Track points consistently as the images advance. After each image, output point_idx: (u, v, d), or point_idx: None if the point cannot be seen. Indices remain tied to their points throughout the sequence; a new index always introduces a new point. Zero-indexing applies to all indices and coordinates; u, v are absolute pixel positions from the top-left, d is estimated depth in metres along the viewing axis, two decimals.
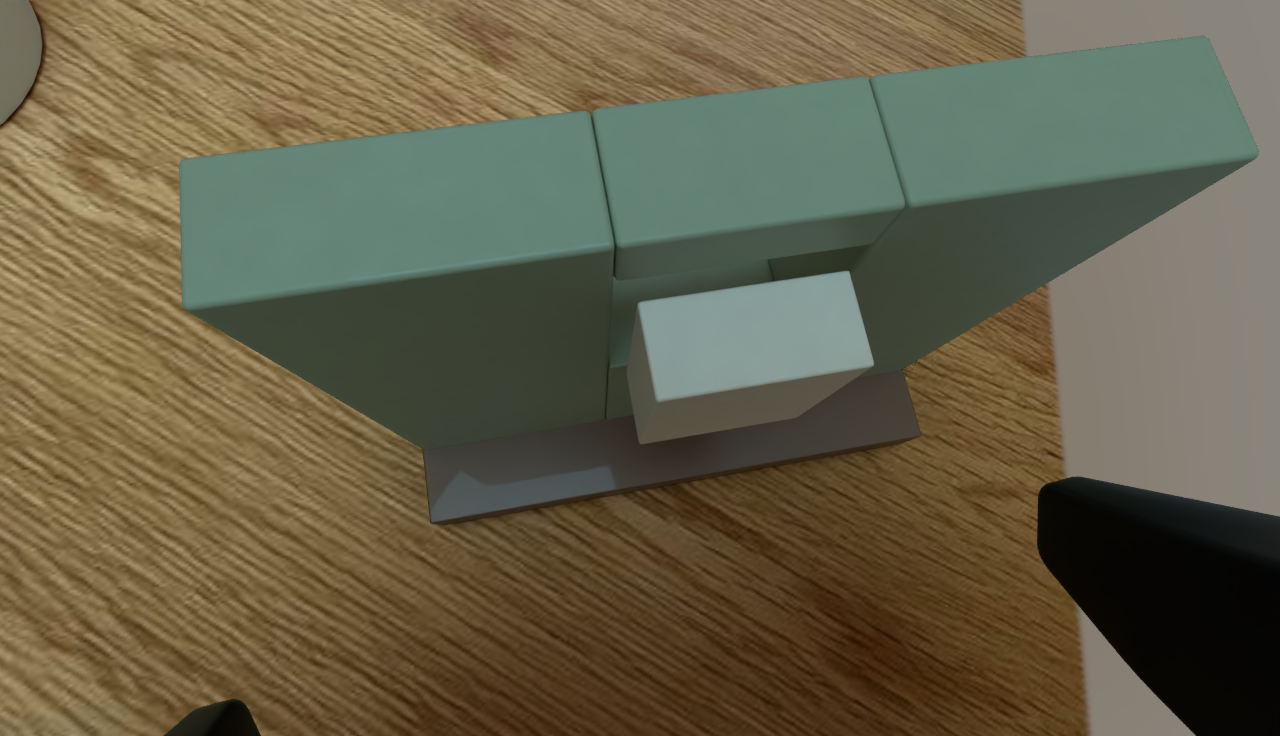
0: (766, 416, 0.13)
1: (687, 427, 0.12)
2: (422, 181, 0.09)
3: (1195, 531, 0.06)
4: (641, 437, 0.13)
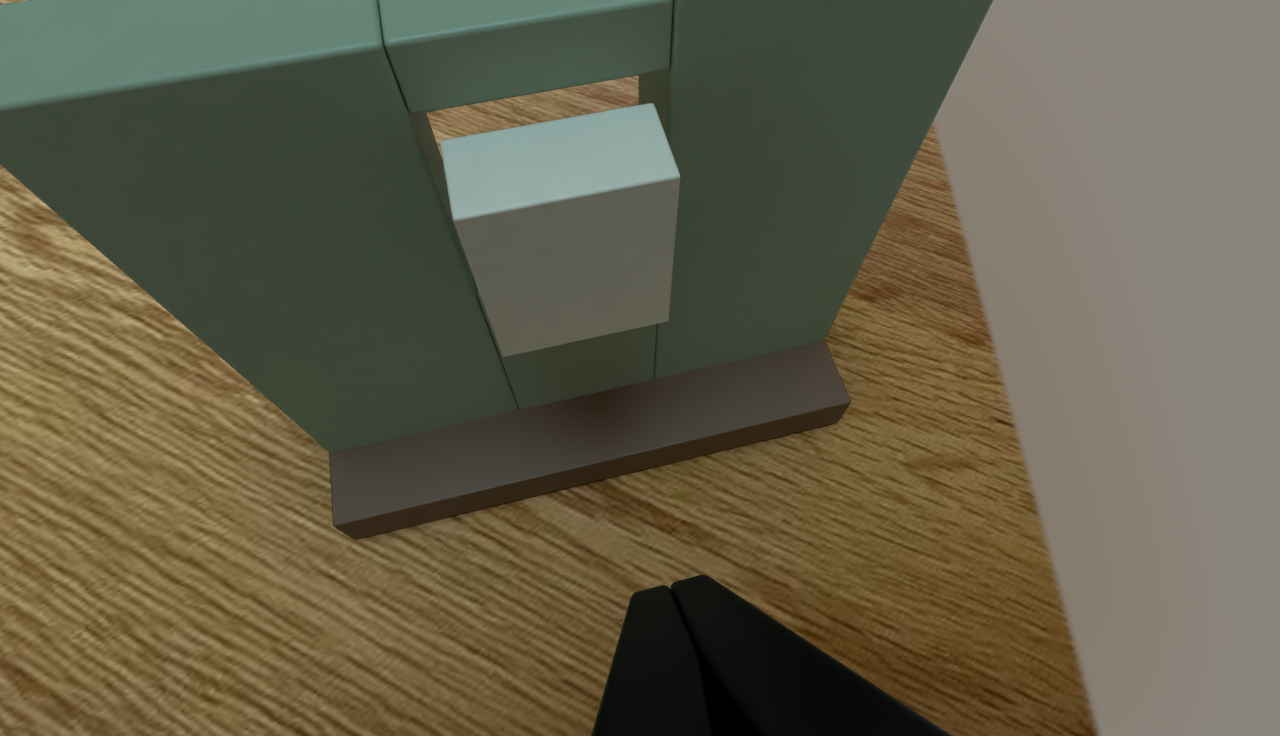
0: (624, 306, 0.12)
1: (536, 314, 0.12)
2: (199, 8, 0.09)
3: (727, 663, 0.06)
4: None
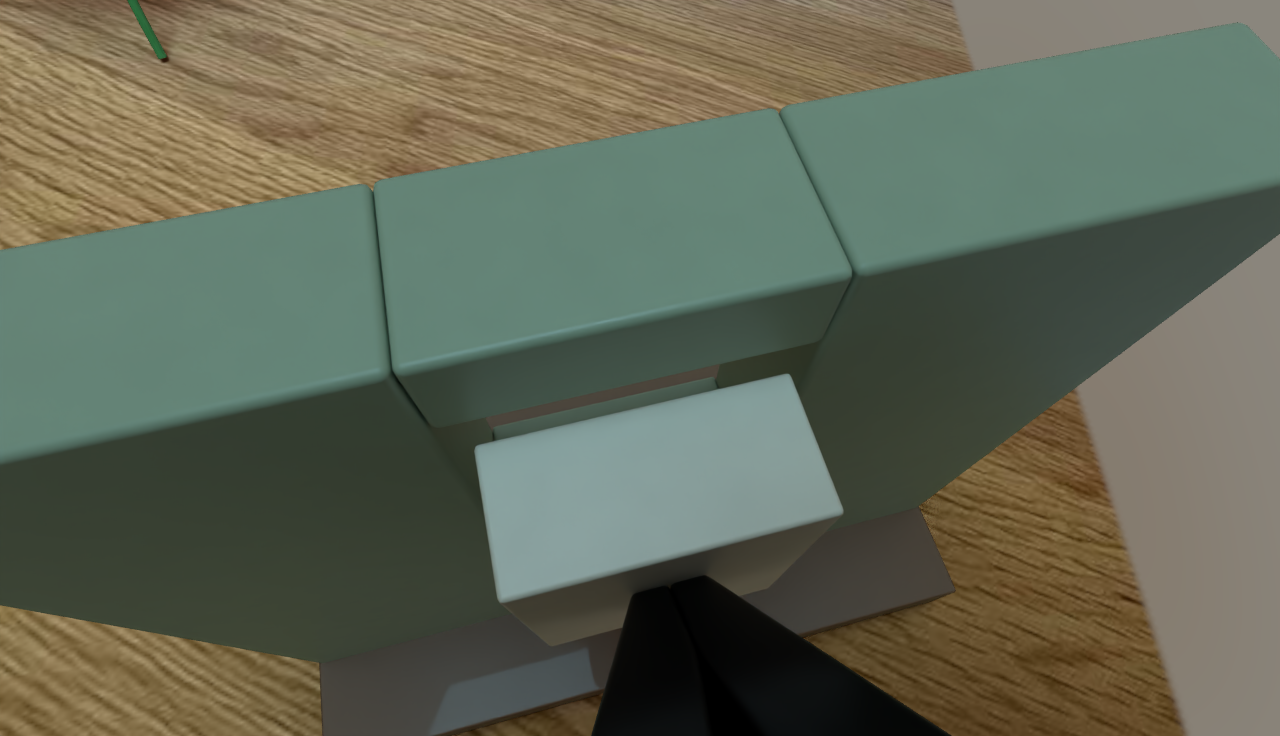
0: None
1: (601, 621, 0.08)
2: (92, 301, 0.06)
3: (727, 663, 0.06)
4: None
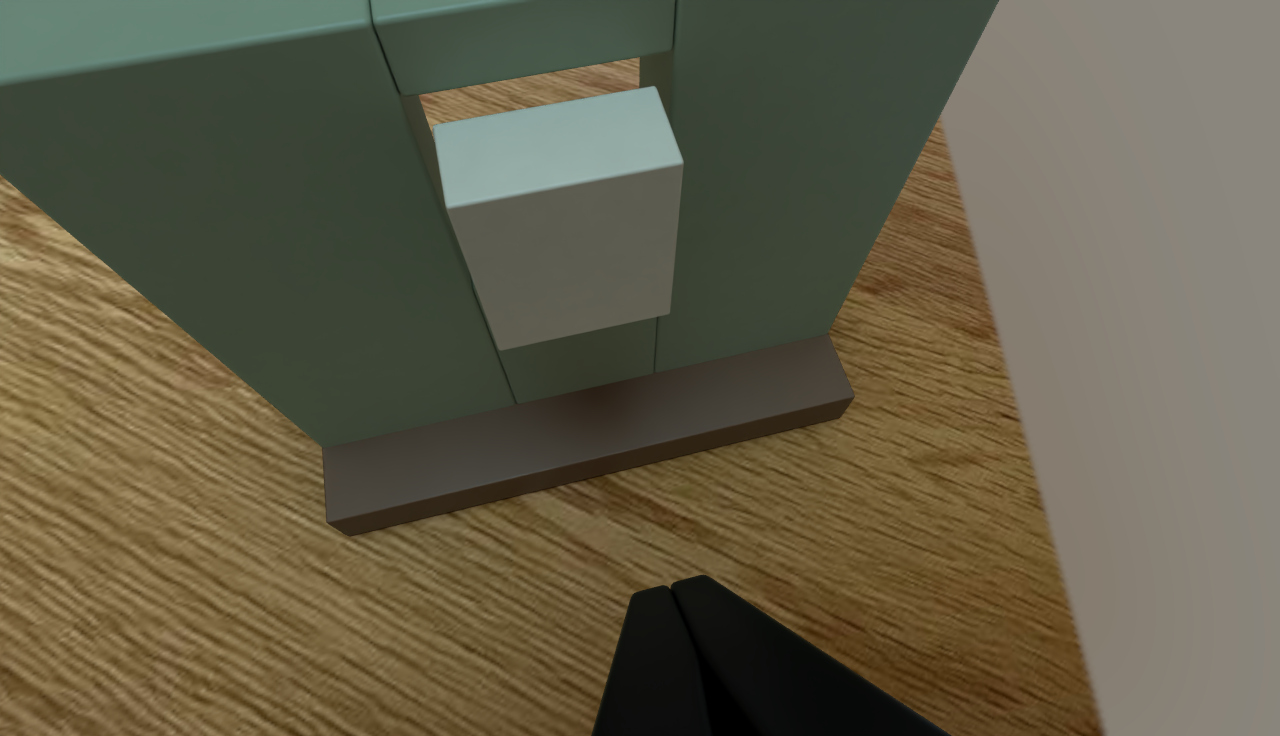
0: (624, 299, 0.12)
1: (533, 307, 0.11)
2: None
3: (727, 663, 0.06)
4: (491, 330, 0.12)
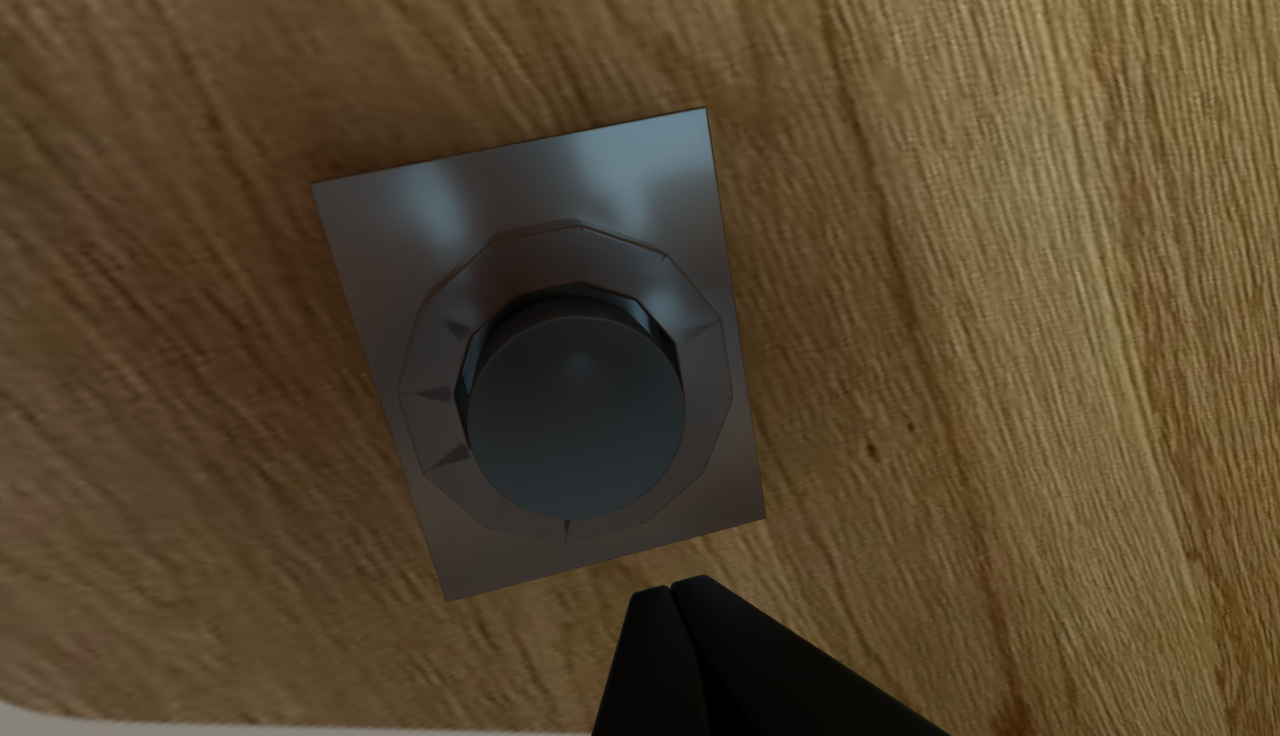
0: None
1: None
2: None
3: (727, 663, 0.06)
4: None
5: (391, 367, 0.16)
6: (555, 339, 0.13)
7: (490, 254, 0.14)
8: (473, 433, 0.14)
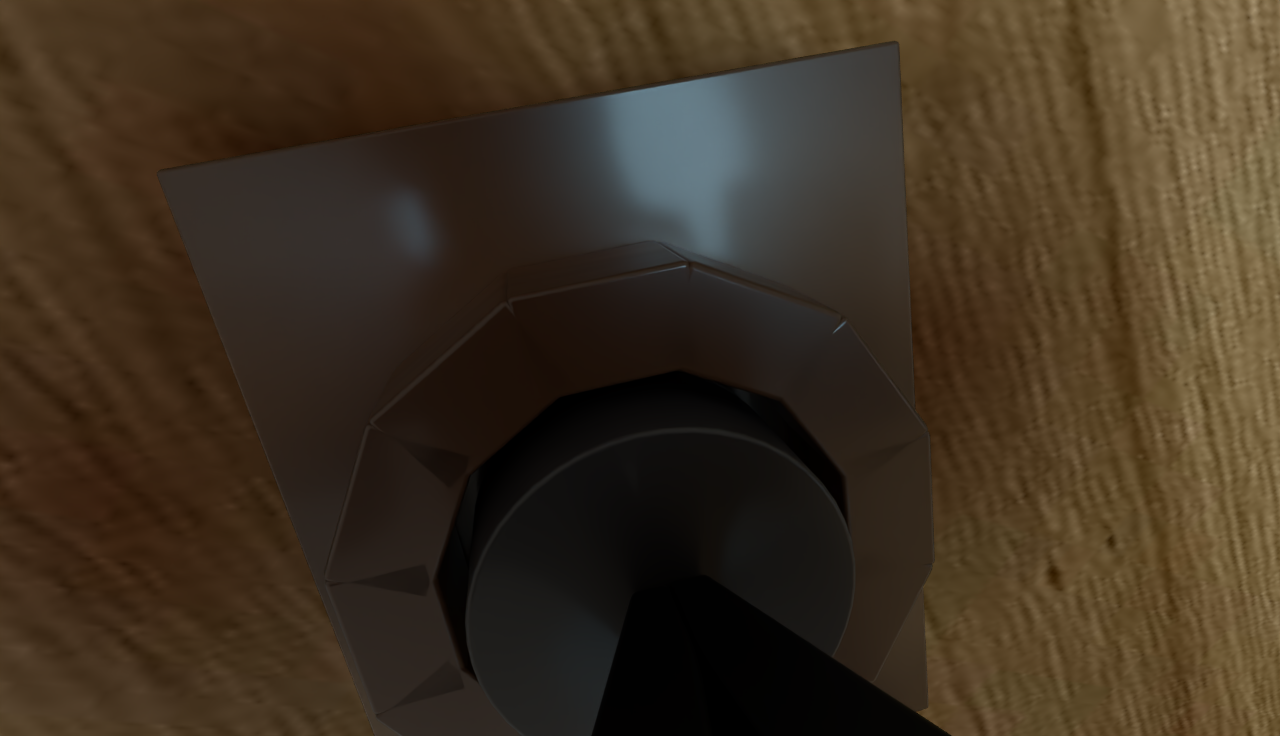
0: None
1: None
2: None
3: (727, 663, 0.06)
4: None
5: (325, 502, 0.09)
6: (636, 473, 0.07)
7: (509, 320, 0.07)
8: (477, 642, 0.07)
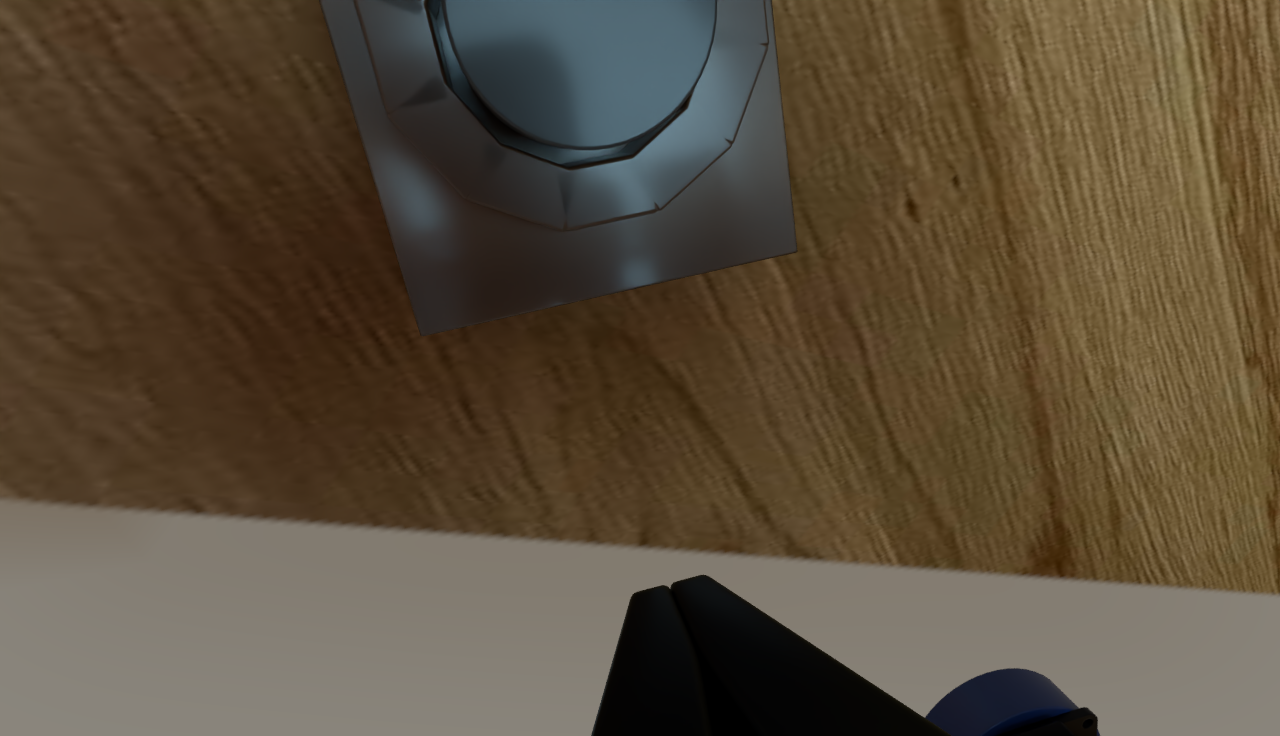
0: None
1: None
2: None
3: (727, 663, 0.06)
4: None
5: (349, 8, 0.13)
6: None
7: None
8: (449, 4, 0.11)
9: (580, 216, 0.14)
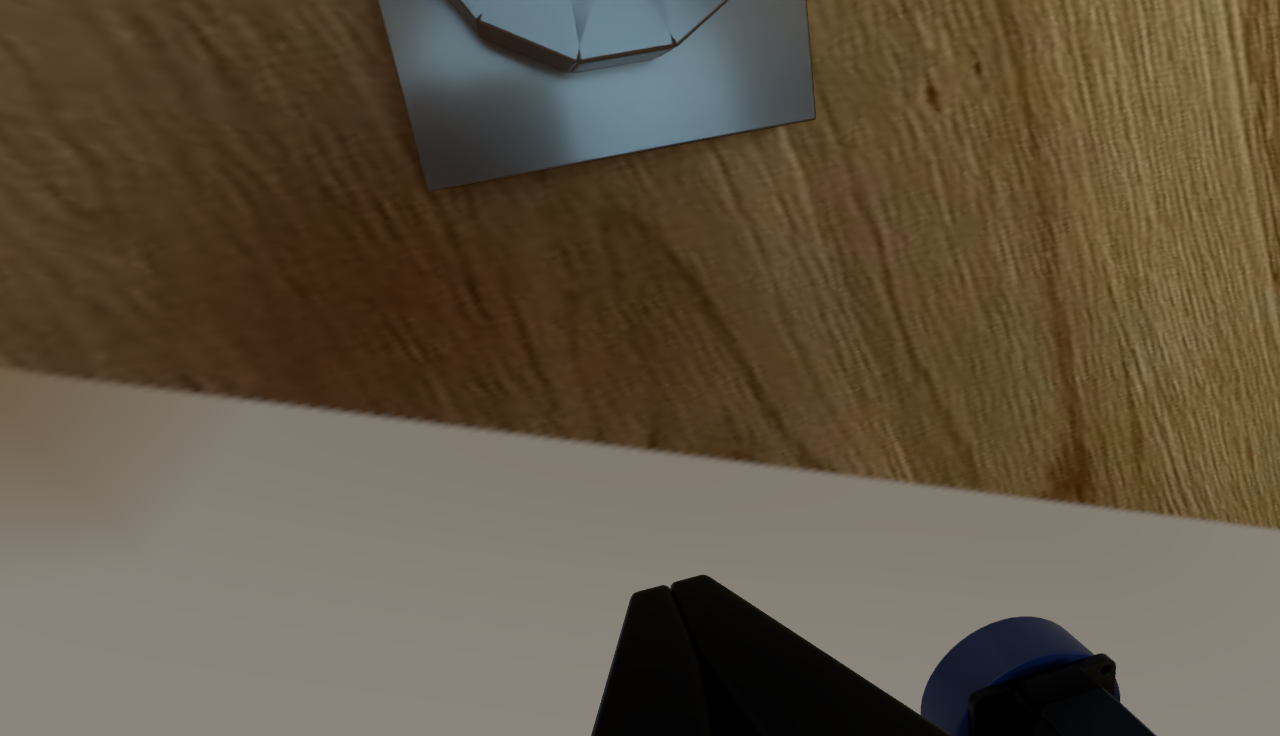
0: None
1: None
2: None
3: (727, 663, 0.06)
4: None
5: None
6: None
7: None
8: None
9: (594, 47, 0.13)
